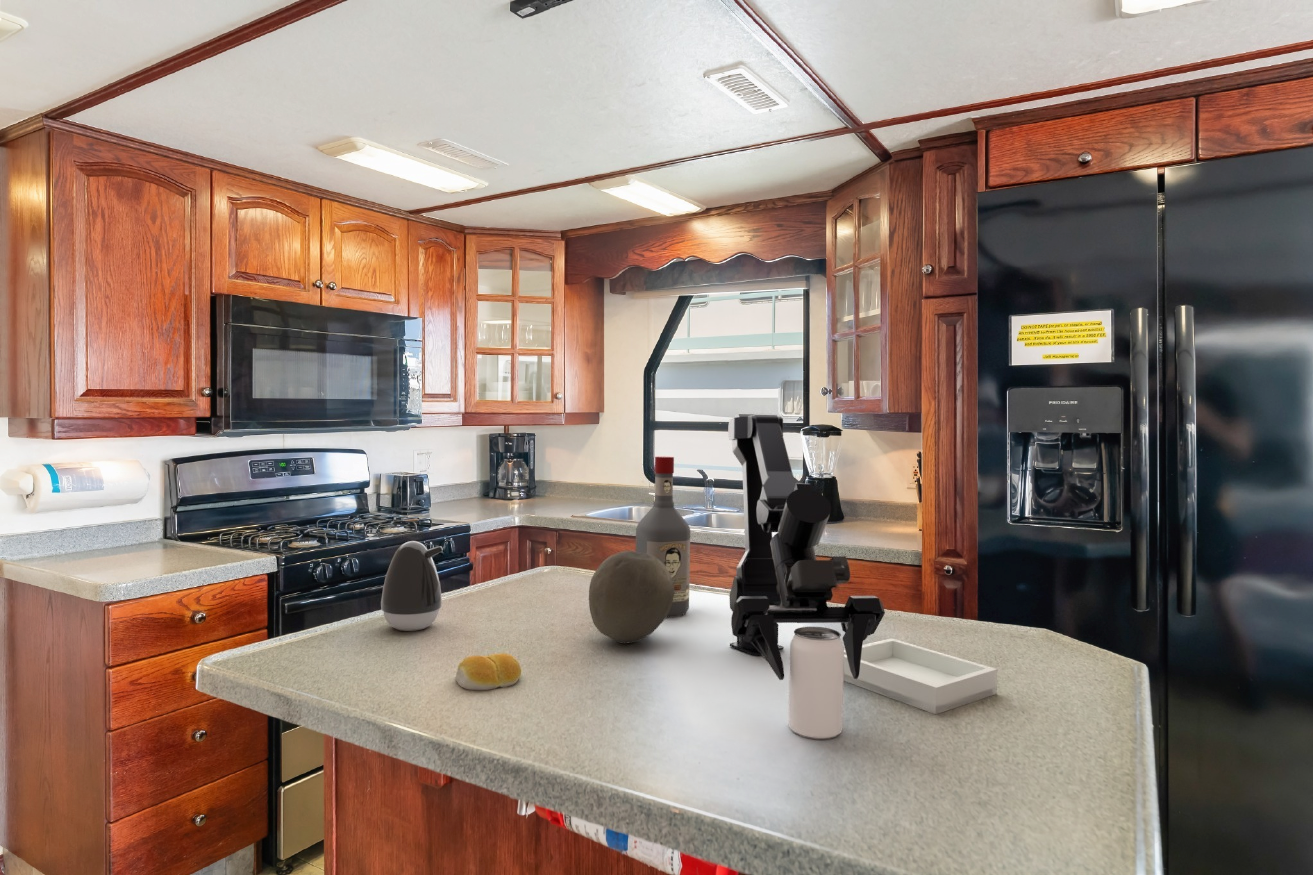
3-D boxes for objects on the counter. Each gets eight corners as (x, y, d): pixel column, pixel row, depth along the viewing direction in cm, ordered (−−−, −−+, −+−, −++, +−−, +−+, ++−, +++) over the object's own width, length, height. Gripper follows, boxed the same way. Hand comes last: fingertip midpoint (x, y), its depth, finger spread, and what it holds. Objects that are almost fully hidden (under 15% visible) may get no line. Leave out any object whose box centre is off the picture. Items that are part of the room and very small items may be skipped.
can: (843, 743, 94) (845, 641, 93) (787, 737, 95) (789, 637, 95) (841, 722, 100) (843, 627, 100) (789, 717, 101) (791, 624, 101)
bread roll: (530, 684, 113) (530, 656, 112) (468, 696, 108) (469, 666, 107) (507, 668, 119) (507, 641, 119) (448, 678, 114) (448, 650, 114)
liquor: (630, 608, 157) (633, 455, 156) (672, 604, 160) (675, 455, 160) (649, 619, 148) (652, 458, 147) (693, 615, 152) (696, 458, 151)
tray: (830, 675, 118) (830, 652, 118) (890, 660, 126) (891, 638, 126) (935, 714, 103) (936, 687, 103) (996, 693, 111) (997, 669, 111)
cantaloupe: (636, 658, 125) (638, 563, 124) (570, 641, 133) (571, 552, 133) (688, 639, 136) (689, 551, 135) (624, 624, 144) (625, 542, 144)
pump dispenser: (432, 635, 135) (433, 546, 135) (372, 634, 135) (372, 545, 135) (449, 620, 145) (450, 537, 145) (393, 619, 145) (393, 536, 145)
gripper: (737, 532, 100) (754, 645, 89) (881, 533, 102) (915, 643, 91) (724, 582, 108) (739, 690, 97) (858, 581, 110) (887, 688, 99)
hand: (819, 677), depth 96 cm, fingers open, 9 cm apart
